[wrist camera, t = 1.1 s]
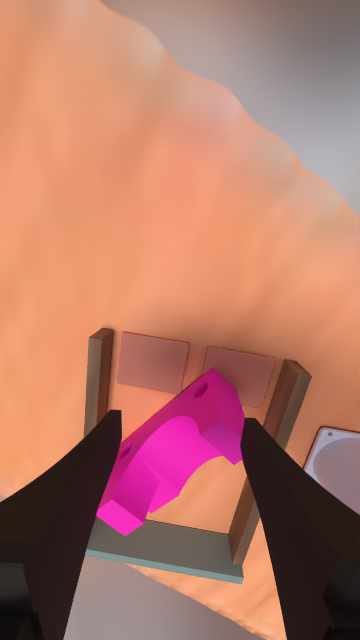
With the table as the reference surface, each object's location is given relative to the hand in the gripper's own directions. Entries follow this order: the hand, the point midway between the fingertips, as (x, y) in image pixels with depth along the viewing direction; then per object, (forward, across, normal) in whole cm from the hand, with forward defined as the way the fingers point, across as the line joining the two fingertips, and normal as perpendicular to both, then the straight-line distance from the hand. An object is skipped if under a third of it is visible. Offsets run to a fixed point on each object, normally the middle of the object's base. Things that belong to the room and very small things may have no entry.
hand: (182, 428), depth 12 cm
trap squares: (+10, -1, +2) cm, 11 cm away
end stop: (+10, +1, +26) cm, 28 cm away
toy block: (+10, -1, +9) cm, 14 cm away
